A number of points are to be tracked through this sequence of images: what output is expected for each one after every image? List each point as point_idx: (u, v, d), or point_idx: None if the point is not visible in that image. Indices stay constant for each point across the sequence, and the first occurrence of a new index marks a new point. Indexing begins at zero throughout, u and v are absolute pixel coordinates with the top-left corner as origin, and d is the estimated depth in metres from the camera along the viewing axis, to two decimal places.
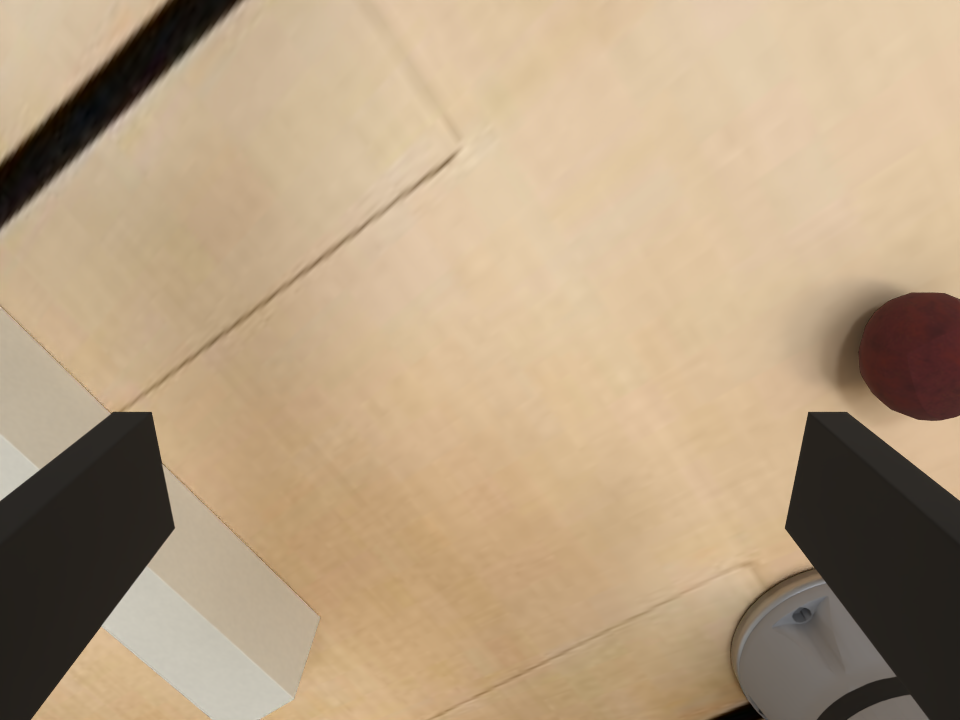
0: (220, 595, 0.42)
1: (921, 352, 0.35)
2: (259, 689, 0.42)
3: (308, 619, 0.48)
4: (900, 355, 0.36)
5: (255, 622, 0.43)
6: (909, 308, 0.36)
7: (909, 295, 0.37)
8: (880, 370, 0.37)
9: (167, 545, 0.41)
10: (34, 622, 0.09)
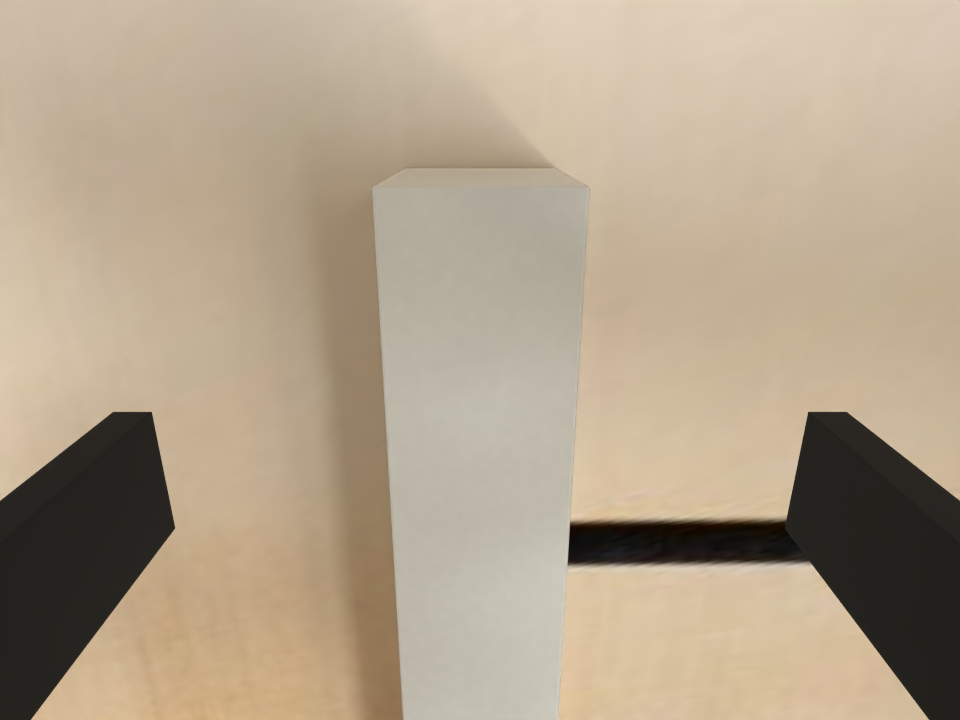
0: None
1: None
2: None
3: None
4: None
5: None
6: None
7: None
8: None
9: None
10: (34, 623, 0.09)
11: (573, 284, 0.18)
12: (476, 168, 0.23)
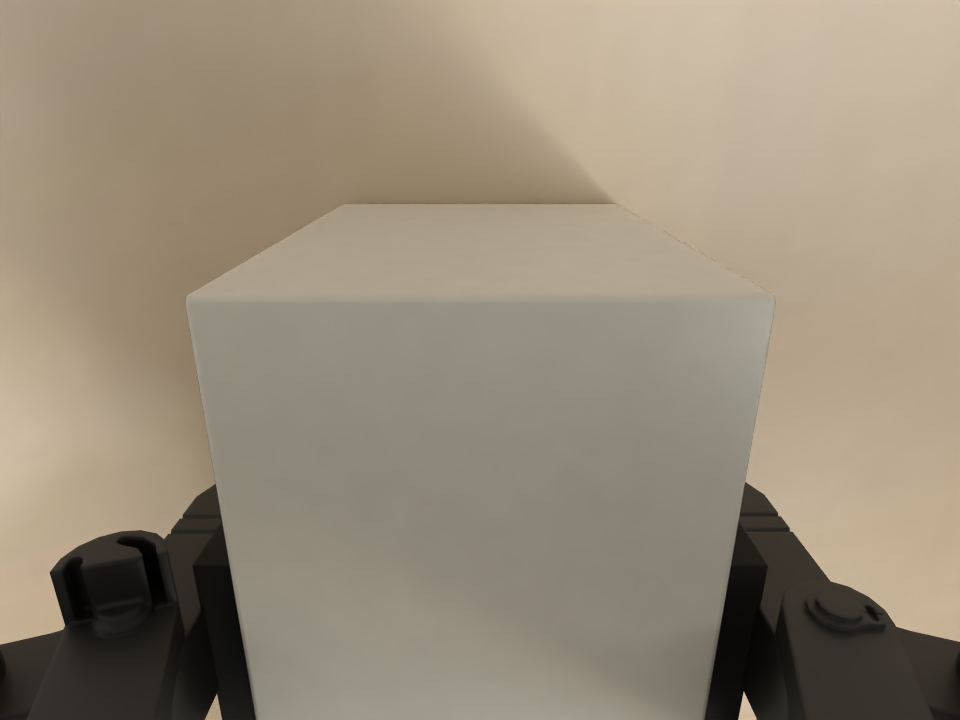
0: None
1: None
2: None
3: None
4: None
5: None
6: None
7: None
8: None
9: None
10: None
11: (713, 527, 0.07)
12: (472, 205, 0.13)
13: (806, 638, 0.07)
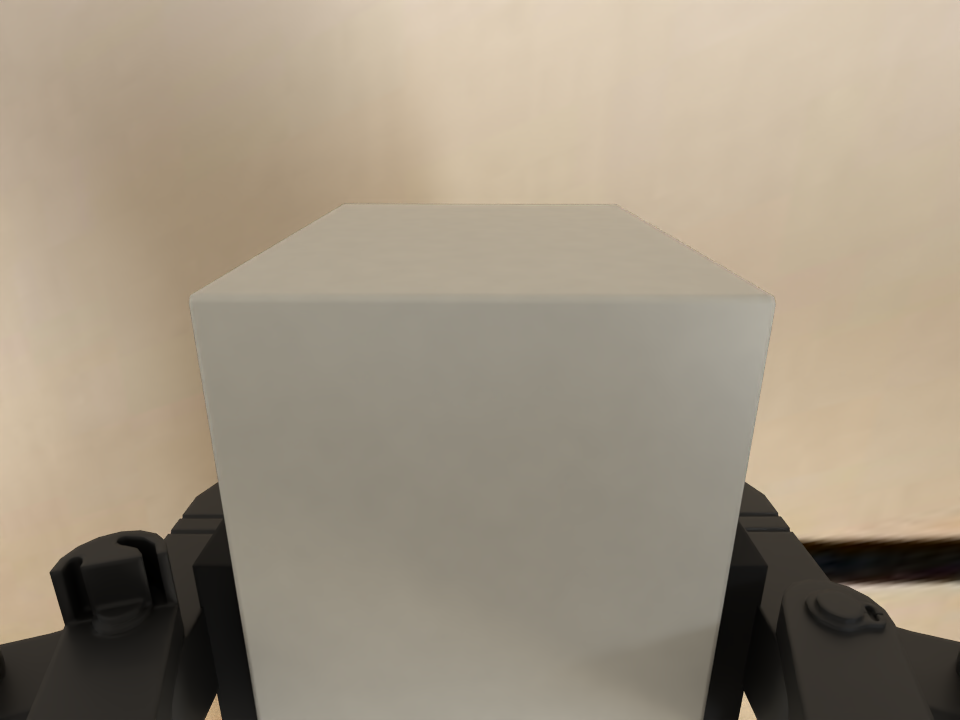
0: None
1: None
2: None
3: None
4: None
5: None
6: None
7: None
8: None
9: None
10: None
11: (713, 526, 0.07)
12: (473, 205, 0.13)
13: (807, 639, 0.07)
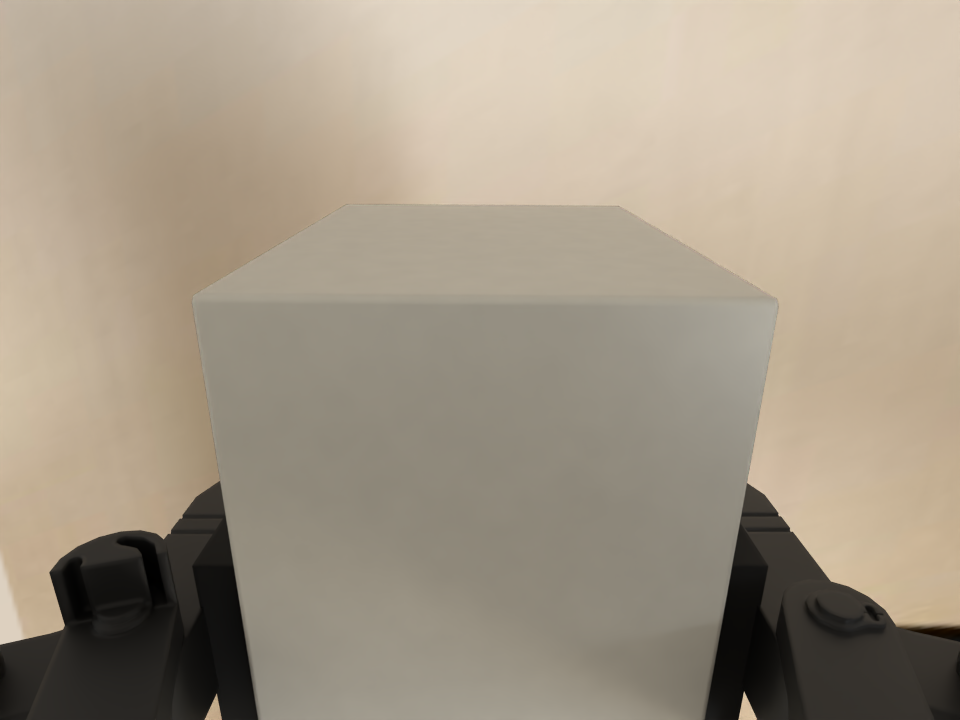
0: None
1: None
2: None
3: None
4: None
5: None
6: None
7: None
8: None
9: None
10: None
11: (715, 529, 0.07)
12: (475, 206, 0.13)
13: (806, 638, 0.07)
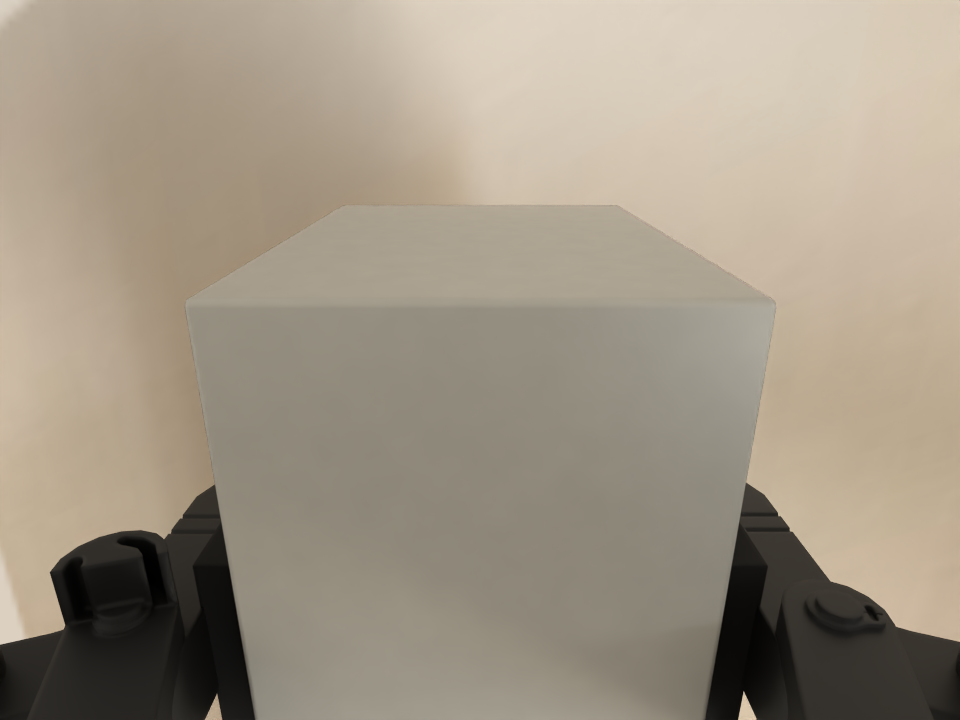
0: None
1: None
2: None
3: None
4: None
5: None
6: None
7: None
8: None
9: None
10: None
11: (713, 531, 0.07)
12: (472, 207, 0.13)
13: (806, 638, 0.07)
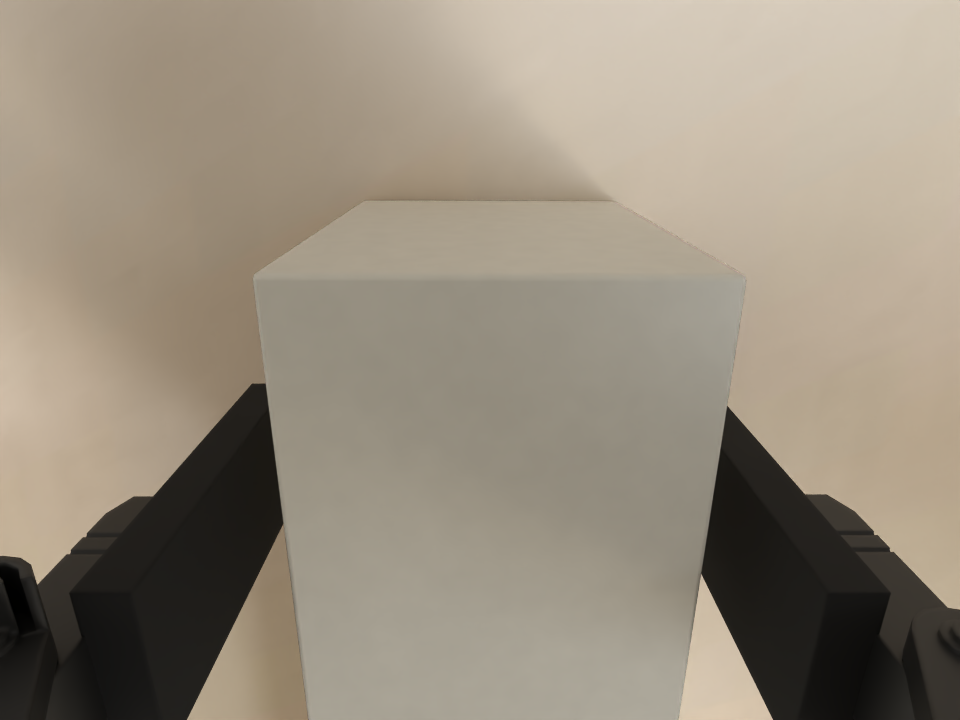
0: None
1: None
2: None
3: None
4: None
5: None
6: None
7: None
8: None
9: None
10: (226, 558, 0.10)
11: (695, 474, 0.08)
12: (483, 202, 0.14)
13: (940, 669, 0.07)
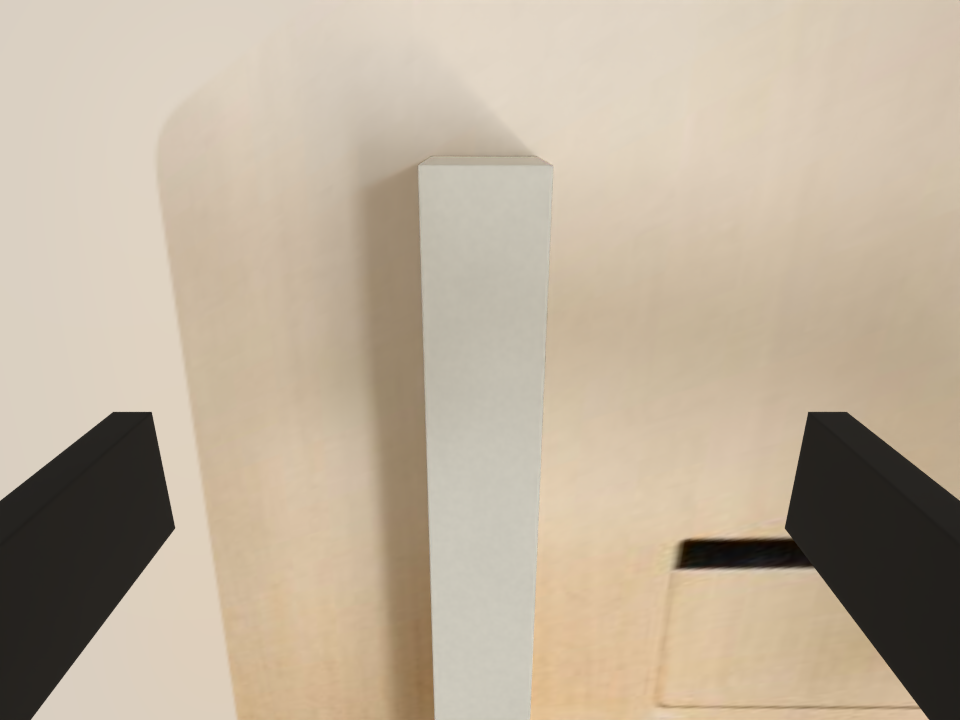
0: None
1: None
2: None
3: None
4: None
5: None
6: None
7: None
8: None
9: None
10: (34, 622, 0.09)
11: (544, 227, 0.28)
12: (481, 156, 0.34)
13: None
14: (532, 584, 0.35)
